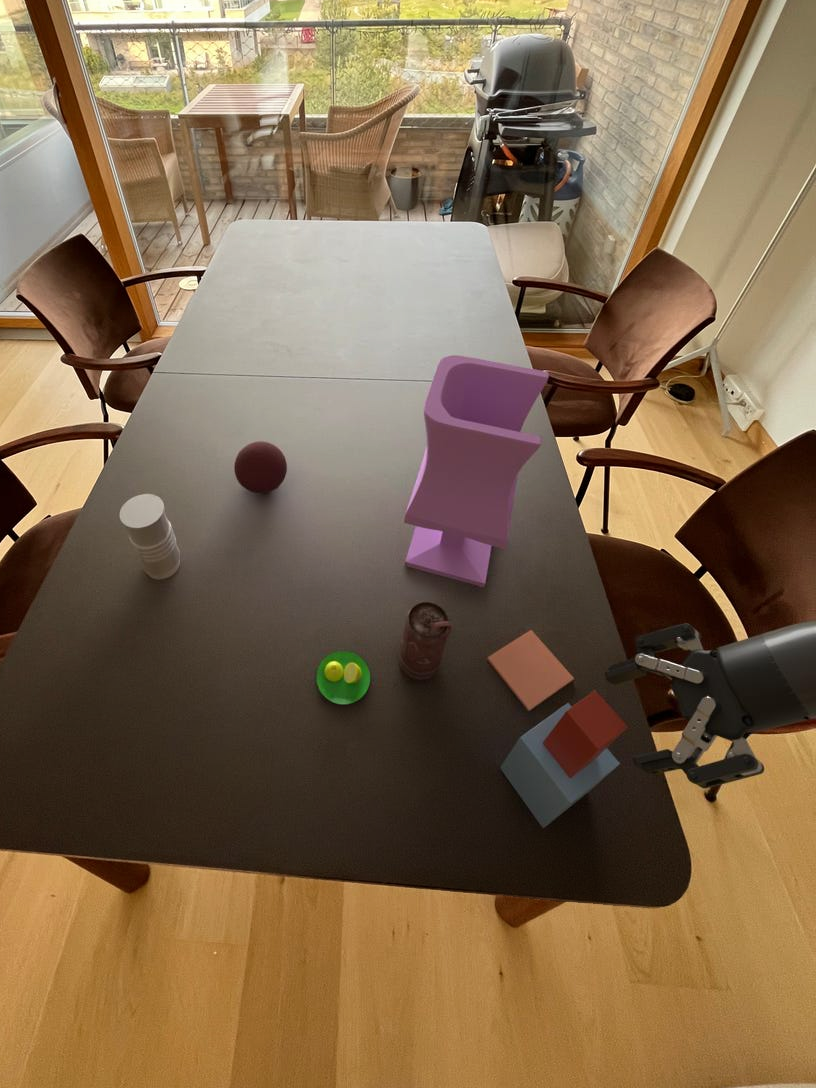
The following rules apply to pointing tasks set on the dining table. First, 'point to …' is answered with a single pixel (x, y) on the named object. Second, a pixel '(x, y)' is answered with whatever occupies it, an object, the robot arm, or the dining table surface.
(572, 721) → the red post
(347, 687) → the green plate with lemons
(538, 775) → the blue stand
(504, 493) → the vase
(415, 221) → the dining table surface
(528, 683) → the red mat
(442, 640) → the brown drink cup
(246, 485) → the decorative ball
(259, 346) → the dining table surface
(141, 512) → the white ridged cylinder
